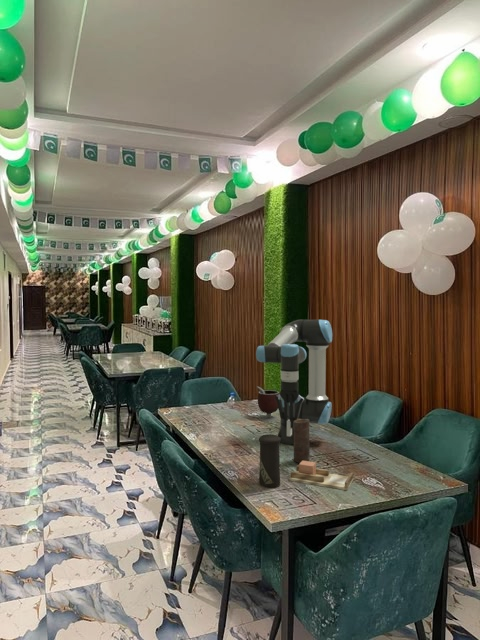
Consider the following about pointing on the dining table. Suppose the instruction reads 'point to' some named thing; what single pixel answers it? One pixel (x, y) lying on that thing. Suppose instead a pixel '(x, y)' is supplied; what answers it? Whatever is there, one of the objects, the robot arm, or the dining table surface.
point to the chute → (323, 479)
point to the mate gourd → (267, 404)
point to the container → (269, 461)
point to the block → (307, 467)
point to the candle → (301, 440)
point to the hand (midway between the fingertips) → (289, 435)
